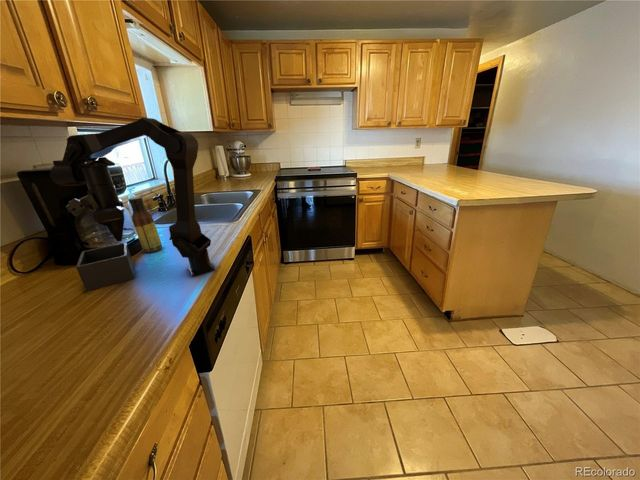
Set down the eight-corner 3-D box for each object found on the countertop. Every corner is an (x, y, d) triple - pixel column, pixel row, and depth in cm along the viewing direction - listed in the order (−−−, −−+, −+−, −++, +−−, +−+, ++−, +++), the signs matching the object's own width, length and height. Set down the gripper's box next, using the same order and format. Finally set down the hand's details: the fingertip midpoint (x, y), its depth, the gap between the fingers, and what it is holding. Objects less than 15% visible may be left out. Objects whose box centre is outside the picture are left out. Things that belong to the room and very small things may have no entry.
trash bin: (134, 278, 79) (126, 255, 76) (86, 291, 73) (75, 267, 70) (133, 262, 89) (126, 242, 86) (90, 273, 83) (81, 251, 80)
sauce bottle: (164, 245, 102) (149, 194, 95) (160, 251, 97) (145, 198, 89) (145, 248, 100) (128, 196, 93) (140, 254, 95) (122, 200, 87)
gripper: (67, 184, 76) (88, 235, 81) (55, 193, 61) (81, 254, 67) (114, 179, 81) (131, 227, 87) (113, 186, 67) (133, 242, 73)
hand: (119, 236), depth 78 cm, fingers open, 9 cm apart
